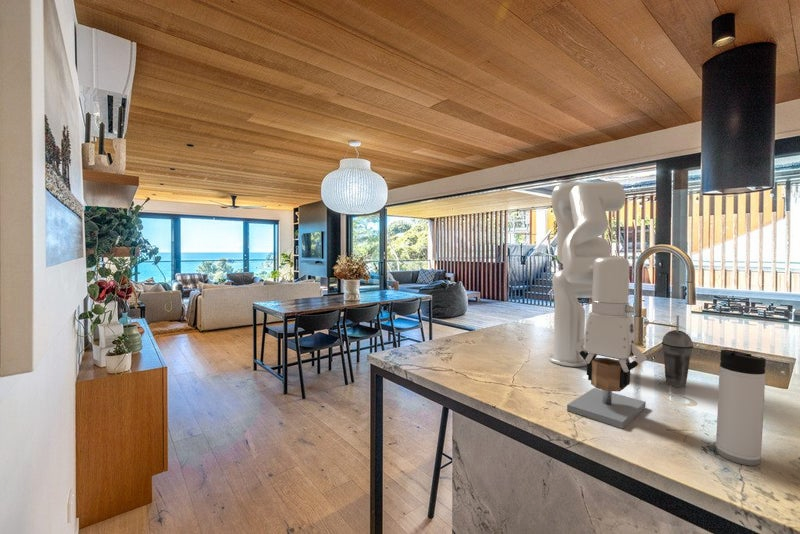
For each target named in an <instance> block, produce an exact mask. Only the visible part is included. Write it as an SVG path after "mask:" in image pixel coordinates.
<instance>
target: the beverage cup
mask: <svg viewBox="0 0 800 534" xmlns="http://www.w3.org/2000/svg"><path fill="white" fill-rule="evenodd" d="M679 322H680V316H679V315H676V325H675V327H676V329H675V330H674V329H673V330H669V331H668V332H666V333H665V334H664V336H663V338H662V341H661V345H662V347H661V348H662V350H663V361H664V362H663V363H664V377H665V378H664V379H665V384H666V383H667V384H668V385H667V384H666V385H667V386H669V385H671V386H670V387H673V386H675V387H674V388H678V387H679V388H681V389H682V388H683V387H684V388H686V385H687V382H688V381H687V380H688V375H689V367H690V361H691V355H692V353H693V348H694V345H693V340H692V338H691V336H690V335H689V334H688V333H686V332H685V331H682V330H679V329H680V327H679V325H680V323H679ZM684 388H683V389H684Z"/></svg>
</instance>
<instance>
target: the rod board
mask: <svg viewBox="0 0 800 534" xmlns="http://www.w3.org/2000/svg"><path fill="white" fill-rule="evenodd" d="M646 404H647V403H646V401H645V400H641V399H637V398H633V397H629V396H625V395H622V394H619V393H615V392H612V404H611V405H606V404H603V403H602V390H601V389H598V388H595V387H593V388H591V389H590V390H589V391H586V392H585V393H584V394H582V395H581V396H578V397H577V398H576V399H574V400H572V401H571V402H569V403H567V405H566V410H567V412H569V411H571V412H570V413H572V412H573V414H575V413H577V414H576V415H578V414H579V415H578V416H582V415H583V416H582V417H585V416H586V418H588V419H591V420H595V421H597V422H600V423H603V422H604V423H603V424H606V423H607V424H606V425H609V424H610V425H609V426H613V427H616V428H619V429H622V430H623V429H624V428H626V426H627V425H629V424H630V423H631V422H632V421H633V420H634V419H635V418H637V416H639V414H640V413H641V412H643V411H644V410H645V409H646V408H645V407H646ZM644 408H645V409H644ZM643 409H644V410H643ZM632 419H633V420H632Z"/></svg>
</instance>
